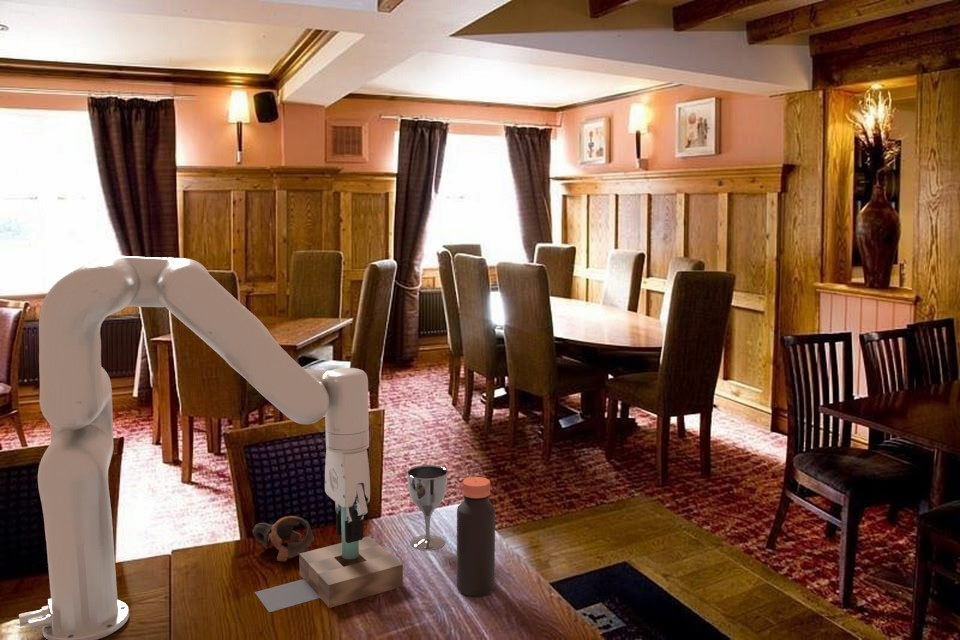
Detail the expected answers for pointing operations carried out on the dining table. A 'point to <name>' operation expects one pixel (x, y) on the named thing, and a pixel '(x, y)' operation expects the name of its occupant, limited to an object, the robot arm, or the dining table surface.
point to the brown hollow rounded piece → (284, 536)
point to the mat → (286, 595)
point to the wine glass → (427, 500)
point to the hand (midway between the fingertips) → (349, 536)
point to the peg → (347, 548)
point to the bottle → (475, 539)
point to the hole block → (350, 572)
